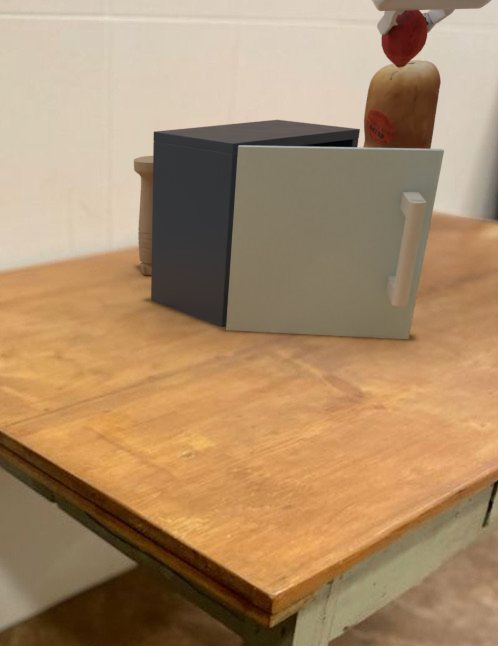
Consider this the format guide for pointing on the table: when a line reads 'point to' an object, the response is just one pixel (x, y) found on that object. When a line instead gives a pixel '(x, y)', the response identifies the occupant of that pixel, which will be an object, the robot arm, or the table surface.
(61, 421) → the table surface
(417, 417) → the table surface
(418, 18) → the onion
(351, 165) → the door
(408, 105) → the butternut squash
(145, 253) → the handle
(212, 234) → the cupboard
